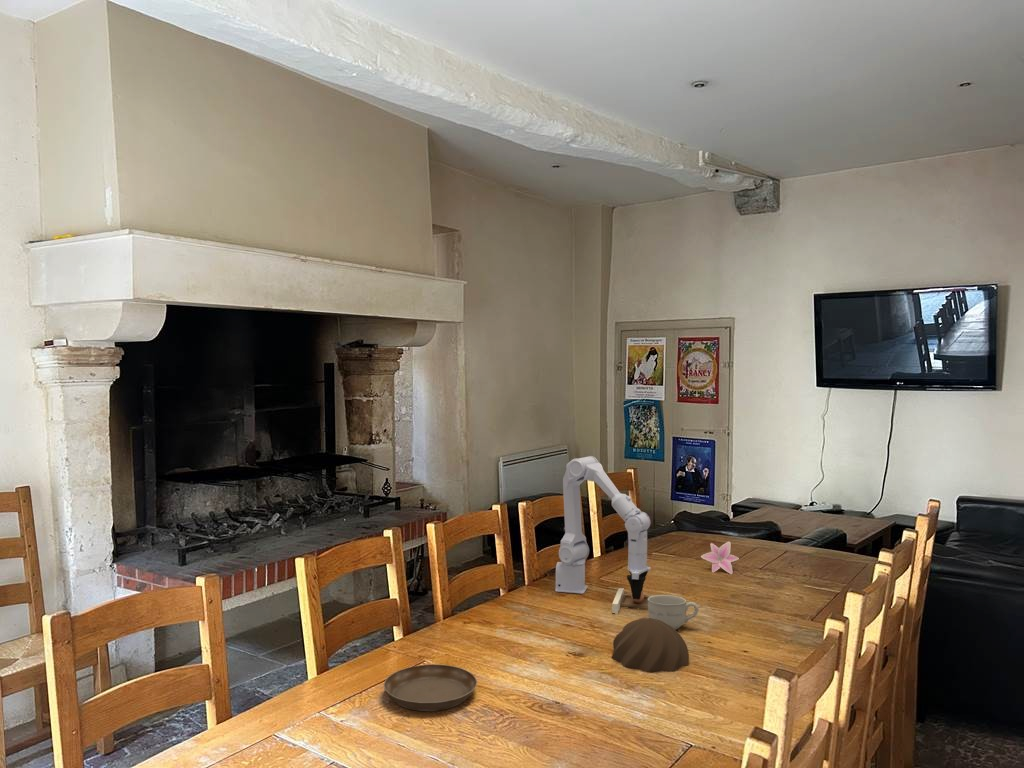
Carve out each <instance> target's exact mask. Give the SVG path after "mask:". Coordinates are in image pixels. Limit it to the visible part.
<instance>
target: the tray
mask: <svg viewBox="0 0 1024 768" xmlns="http://www.w3.org/2000/svg"><path fill="white" fill-rule="evenodd" d="M649 597H650V596H645V595H644V599H643V600H642V601H641V602H640V603H636V602H634V601H633V600H632V599H631V594H624V596H623V598H622V601H621V607H628V608H627V609H633V608H639V609H638V610H644V609H648V598H649ZM621 607H620V608H621Z"/></svg>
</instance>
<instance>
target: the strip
mask: <svg viewBox="0 0 1024 768" xmlns="http://www.w3.org/2000/svg"><path fill="white" fill-rule="evenodd" d="M624 595H625V589H624V587H623V588H622V587H618V589H617V591H616V594H615V596H614V599H613V601H612V604H611V607H612V611H611V613H615V614H614V615H619V612H620V609H621V607H620V606H621V601H622V598H623V596H624ZM618 611H619V612H618Z"/></svg>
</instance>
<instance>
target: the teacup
mask: <svg viewBox="0 0 1024 768" xmlns="http://www.w3.org/2000/svg"><path fill="white" fill-rule="evenodd" d="M648 597H649V598H648V610H647V614H648V618H652V619H658V620H661V621H663V622H665V623H666V624H668V625H669V626H671V627H672V628H674V629H675V630H678V629H679V628H681V627H682V626H683V625H684V624H685V623H687V622H689V620H691V619H693V618H695V617H696V616H697V615H698V613H699V606H698V604H697V603H696V602H694V601H688V602H687V600H686V599H685V598H684V597H681V596H676V595H671V594H656V595H651V596H648ZM689 607H693V608H694V612H693V613H692V614H689V615H687V611H688V609H689Z"/></svg>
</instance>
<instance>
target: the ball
mask: <svg viewBox="0 0 1024 768" xmlns="http://www.w3.org/2000/svg"><path fill="white" fill-rule="evenodd" d="M630 595H631V599H632V600H633V601H634V602H636V603H640V602H641V601H642V600H643V599H644V596H645V594H644V592H643V591H642V592H641V597H640V599H633V597H632V592H631V593H630Z"/></svg>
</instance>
